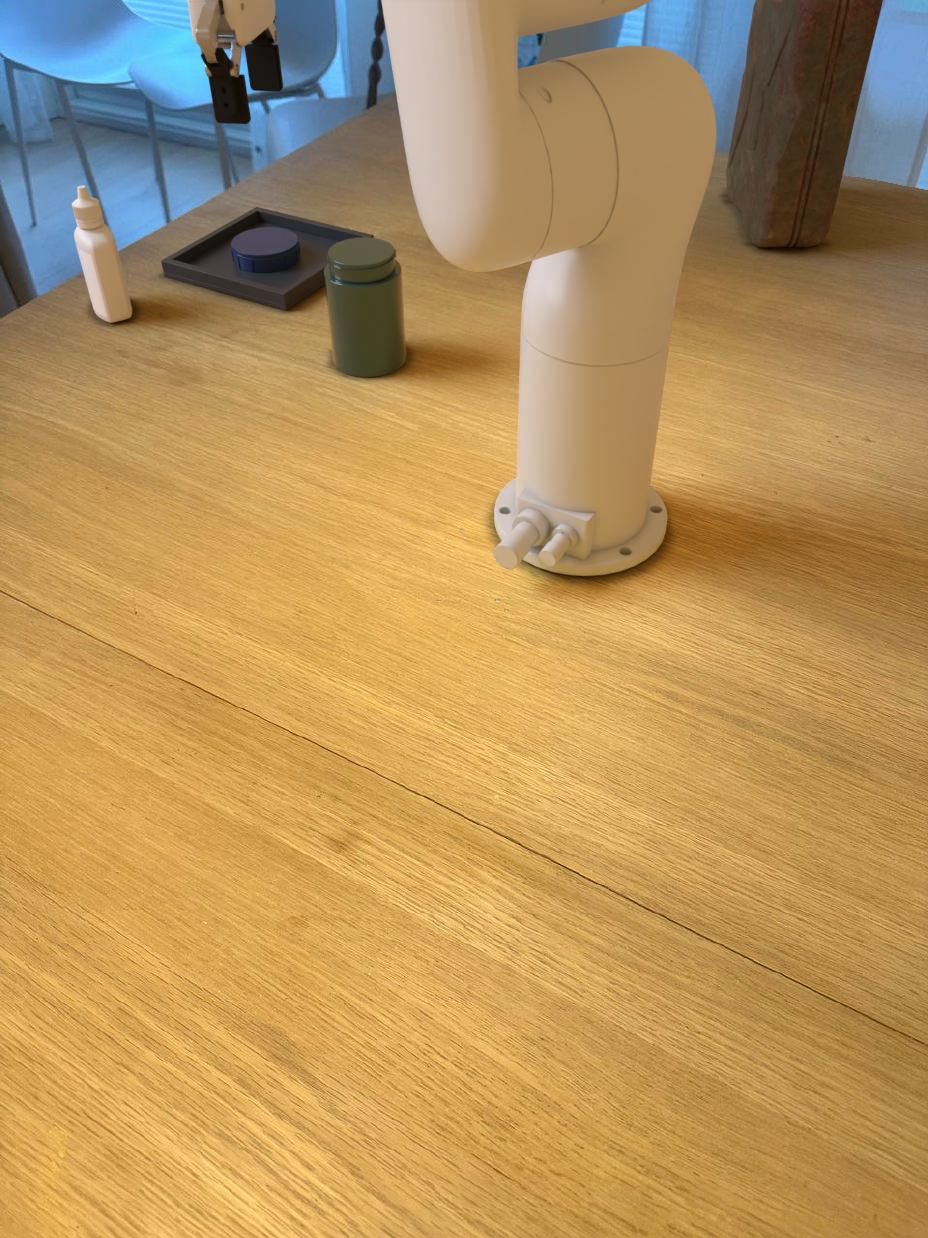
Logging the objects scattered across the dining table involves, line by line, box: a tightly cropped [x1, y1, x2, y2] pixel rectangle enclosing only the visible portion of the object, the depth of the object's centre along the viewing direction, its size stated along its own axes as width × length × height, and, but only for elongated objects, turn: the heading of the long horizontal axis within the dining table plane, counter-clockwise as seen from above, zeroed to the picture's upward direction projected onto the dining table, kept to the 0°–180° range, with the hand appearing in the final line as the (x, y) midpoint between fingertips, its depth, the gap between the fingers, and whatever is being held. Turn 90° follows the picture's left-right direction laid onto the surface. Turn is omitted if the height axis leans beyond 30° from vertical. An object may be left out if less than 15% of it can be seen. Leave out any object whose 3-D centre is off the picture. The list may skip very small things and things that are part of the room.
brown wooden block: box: [725, 0, 884, 248], centre depth 109 cm, size 19×8×25 cm, turn 1°
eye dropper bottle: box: [71, 184, 133, 324], centre depth 99 cm, size 4×6×12 cm
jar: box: [324, 237, 407, 378], centre depth 92 cm, size 7×7×10 cm
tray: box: [160, 206, 375, 311], centre depth 109 cm, size 16×16×2 cm
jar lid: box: [231, 227, 301, 273], centre depth 109 cm, size 7×7×2 cm
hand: (251, 105), depth 99 cm, fingers open, 9 cm apart
